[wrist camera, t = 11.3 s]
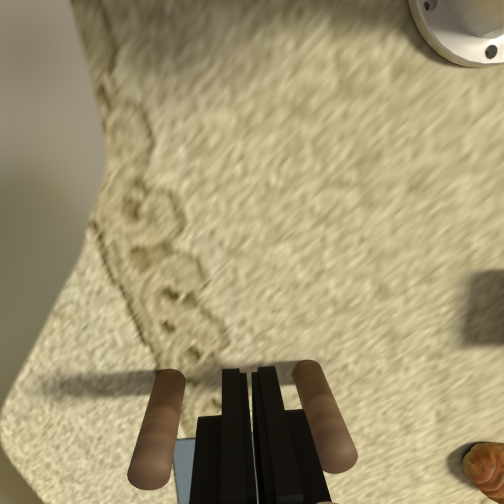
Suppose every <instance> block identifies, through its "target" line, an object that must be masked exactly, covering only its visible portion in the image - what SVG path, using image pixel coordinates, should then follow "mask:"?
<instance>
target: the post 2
mask: <svg viewBox="0 0 504 504" xmlns="http://www.w3.org/2000/svg"><path fill="white" fill-rule="evenodd" d="M293 377H294V381H295V384H296V388H297V391H298V395H299V398H300V402H301V405H302V409H304V411H305V414H306V416H307V420H308V423H309V427H310V430H311V433H312V437H313V440H314V443H315V447H316V450H317V454H318V457H319V460H320V464H321V467H322V470H323V471H325V472H327V473H331V474H338V473H343V472H345V471H347V470H349V469H350V468H352V467H353V466H354V465H355V463H356V461H357V459H358V453H357V451H356V448H355V446H354V444H353V441H352V439H351V436H350V434H349V432H348V429H347V427H346V425H345V422H344V420H343V418H342V415H341V413H340V411H339V408H338V406H337V404H336V401H335V399H334V397H333V394H332V392H331V390H330V387H329V385H328V382H327V380H326V378H325V375H324V373H323V371H322V368H321V366H320V365H319V364H318V363H317V362H315V361H312V360H305V361H302V362H300V363H299V364H297V365H296V366H295V368H294V370H293Z"/></svg>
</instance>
